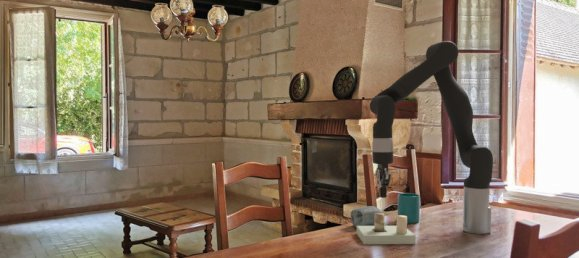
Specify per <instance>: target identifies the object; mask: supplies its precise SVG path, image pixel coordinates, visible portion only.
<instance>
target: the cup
mask: <svg viewBox="0 0 579 258" xmlns="http://www.w3.org/2000/svg"><path fill="white" fill-rule="evenodd" d="M420 211H421V195H420V194H417V193H413V192H412V193H410V192H403V193H402V192H401V193H398V194H397V216H398V215H403V216H407V224H417V223H419V222H420V220H421V219H420V216H421V215H420V213H421V212H420Z"/></svg>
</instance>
